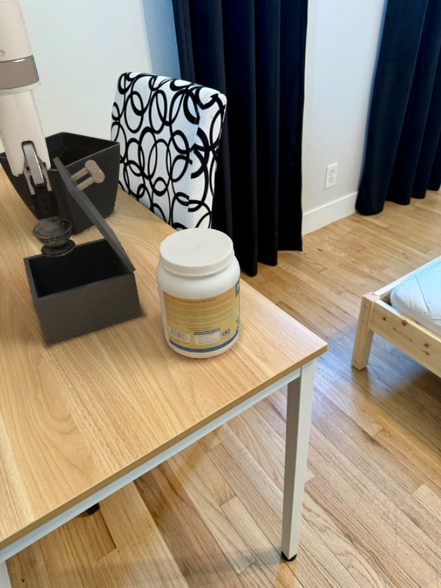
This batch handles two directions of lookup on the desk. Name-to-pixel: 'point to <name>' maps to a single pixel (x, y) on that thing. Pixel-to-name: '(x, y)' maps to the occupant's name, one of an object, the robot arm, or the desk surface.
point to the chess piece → (54, 236)
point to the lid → (87, 205)
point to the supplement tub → (199, 292)
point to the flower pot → (73, 157)
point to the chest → (81, 290)
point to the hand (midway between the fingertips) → (46, 209)
